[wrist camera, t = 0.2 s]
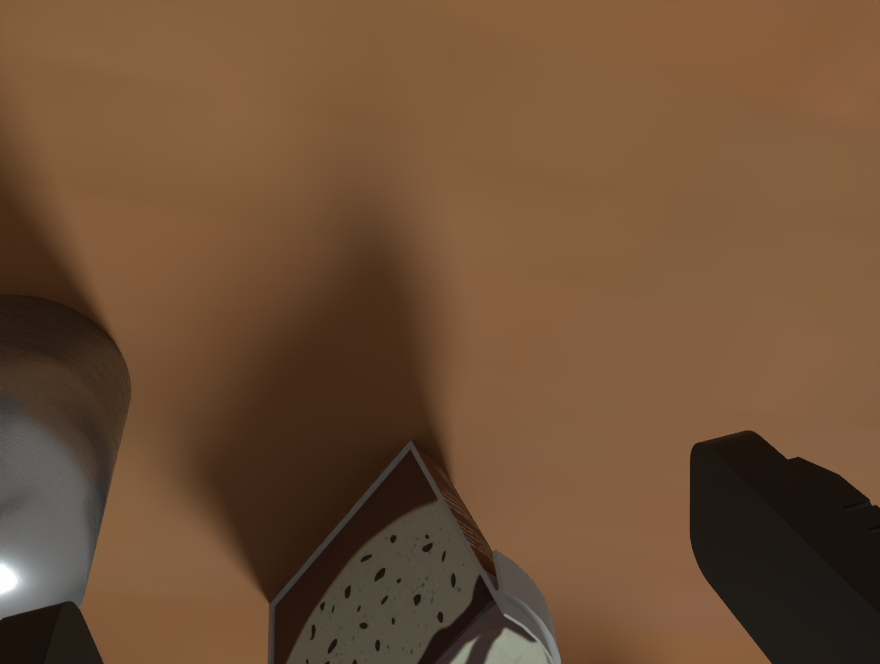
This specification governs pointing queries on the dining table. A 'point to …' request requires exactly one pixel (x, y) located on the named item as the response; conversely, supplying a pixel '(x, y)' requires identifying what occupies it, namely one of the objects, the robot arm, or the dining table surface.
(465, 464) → the dining table surface
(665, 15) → the dining table surface
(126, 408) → the round peg
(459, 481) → the dining table surface
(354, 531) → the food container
